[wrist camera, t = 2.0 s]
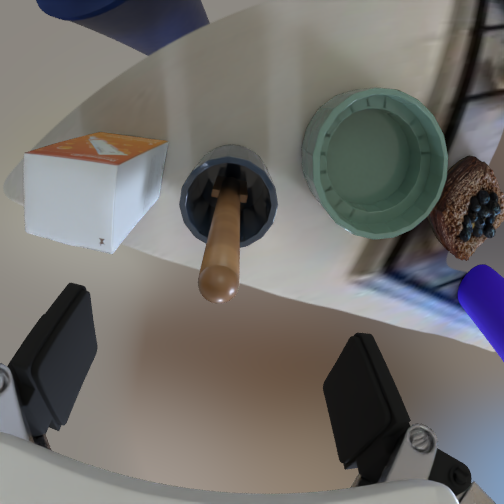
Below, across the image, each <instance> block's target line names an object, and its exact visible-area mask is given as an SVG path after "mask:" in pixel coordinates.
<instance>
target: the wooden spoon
mask: <svg viewBox="0 0 504 504" xmlns="http://www.w3.org/2000/svg"><path fill="white" fill-rule="evenodd" d="M211 196H212V197H216V198H218V199H217V203H216V207H215V211H214V215H213V219H212V223H211V227H210V231H209V235H208V239H207V244H206V248H205V252H204V256H203V261H202V265H201V269H200V274H199V278H198V287H199V291H200V293H201V294H202V296H203V297H204V298H205V299H206V300H208V301H210V302H212V303H216V304H222V303H226V302H228V301H230V300H231V299H232V298H233V297H235V295H236V293H237V291H238V289H239V260H240V202H242V203H246V202H247V197H248V193H247V182H246V181H241V180H237V179H236V178H234V177H228V178H226V177H220V176H217V178H216V181H215V183H214V186H213V189H212V194H211Z"/></svg>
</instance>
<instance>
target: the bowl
mask: <svg viewBox="0 0 504 504" xmlns="http://www.w3.org/2000/svg"><path fill="white" fill-rule="evenodd" d="M301 151H302V170H303V173H304V175H305V178H306V181H307V183H308V186H309V189H310V191H311V192H312V193H313V195H314V196H315V197H316V198H317V200H318V201H319V202H320V203H321V205H322V206H323V207H324V209H325V210H326V211H327V212H328V214H329V215H330V216H331V217H332V219H333V220H334V221H335V223H337V224H338V225H340V226H341V227H343V228H344V229H346V230H347V231H349V232H350V233H352V234H354V235H357V236H362V237H366V238H370V239H383V238H393V237H396V236H398V235H400V234H403V233H405V232H407V231H410V230H412V229H413V228H414V227H416V226H417V225H418V224H419V223H420V222H422V221H423V220H424V219H425V218H426V217H427V216H428V215H429V214H430V212H431V211H432V209H433V208H434V206H435V205H436V203H437V202H438V200H439V199H440V196H441V193H442V191H443V188H444V185H445V182H446V178H447V166H448V154H447V149H446V144H445V139H444V135H443V133H442V131H441V129H440V127H439V125H438V123H437V121H436V119H435V117H434V116H433V114H432V113H431V112H430V111H429V110H428V109H427V108H426V107H425V106H424V105H423V104H422V103H421V102H420V101H419V100H417V99H416V98H414V97H412V96H410V95H408V94H406V93H404V92H402V91H399V90H396V89H386V88H366V89H357V90H352V91H349V92H346V93H342V94H339V95H336V96H335V97H333V98H332V99H331V100H329V101H328V102H327V103H325V104H324V105H323V106H321V107H320V108H319V109H318V111H317V112H316V114H315V115H314V117H313V118H312V120H311V121H310V123H309V124H308V126H307V129H306V132H305V136H304V140H303V144H302V149H301Z"/></svg>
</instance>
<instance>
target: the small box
mask: <svg viewBox="0 0 504 504" xmlns="http://www.w3.org/2000/svg"><path fill="white" fill-rule="evenodd" d="M167 147H168V141H164V140H156V139H148V138H141V137H133V136H126V135H119V134H112V133H104V132H98V133H94V134H90V135H86V136H82V137H78V138H74V139H70V140H66V141H63V142H59V143H55V144H52V145H49V146H45V147H42V148H39V149H36V150H33V151H29V152H25V154H24V216H25V231H26V232H27V233H30V234H33V235H36V236H40V237H43V238H47V239H51V240H54V241H57V242H60V243H64V244H67V245H72V246H78V247H83V248H87V249H92V250H96V251H101V252H105V253H109V254H112V253H114V251H115V250H116V249H117V248H118V246H119V245H120V244H121V242H122V241H123V240H124V239H125V237H126V236H127V235H128V234H129V232H130V231H131V230H132V229H133V228H134V226H135V225H136V224H137V223H138V222H139V220H140V219H141V218H142V217H143V216H144V215H145V213H146V212H147V211H148V210H149V209H150V208H151V206H152V205H153V204H154V203H155V202H156V201H157V200H158V198H159V195H160V188H161V181H162V175H163V169H164V163H165V158H166V153H167Z"/></svg>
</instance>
